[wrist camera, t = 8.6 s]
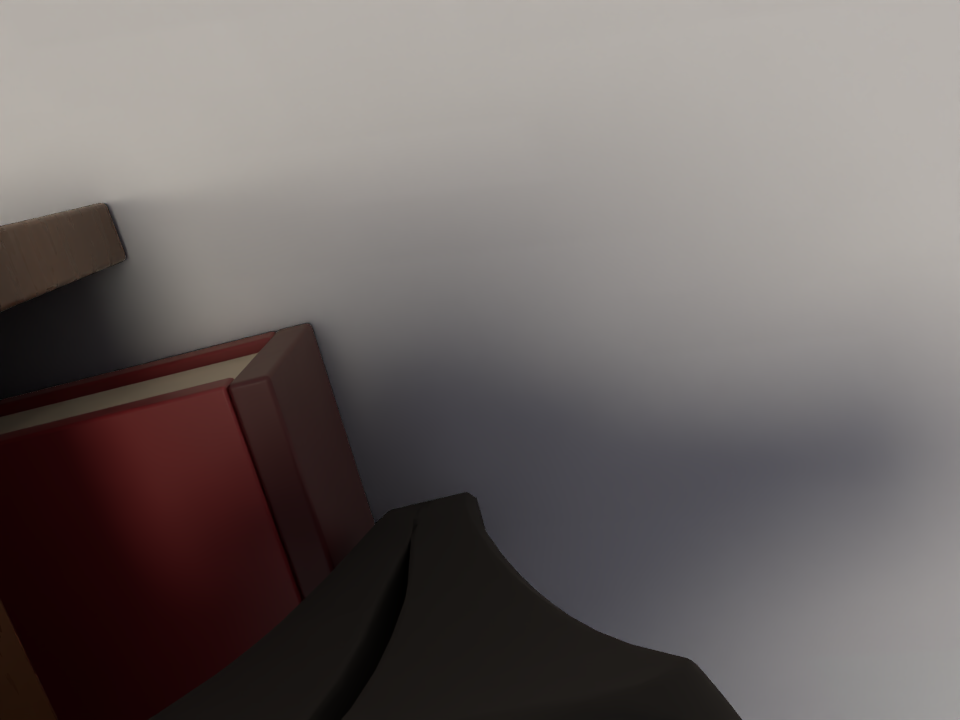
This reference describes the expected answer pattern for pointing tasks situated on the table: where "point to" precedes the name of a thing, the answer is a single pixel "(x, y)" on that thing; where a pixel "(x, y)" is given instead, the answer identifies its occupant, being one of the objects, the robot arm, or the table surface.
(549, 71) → the table surface
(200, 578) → the book
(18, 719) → the shelf
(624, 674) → the robot arm
